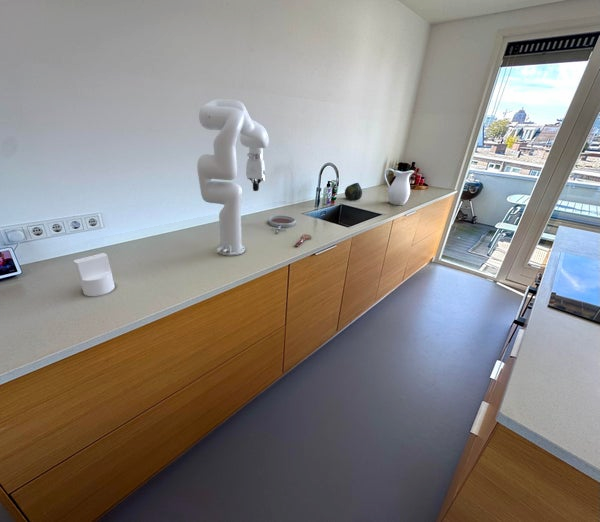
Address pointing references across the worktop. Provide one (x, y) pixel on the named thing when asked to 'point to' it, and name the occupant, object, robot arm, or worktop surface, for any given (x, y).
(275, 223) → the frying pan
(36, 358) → the worktop surface
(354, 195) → the squash
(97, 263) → the cylinder with rectangular tab
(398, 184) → the pitcher
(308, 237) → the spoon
